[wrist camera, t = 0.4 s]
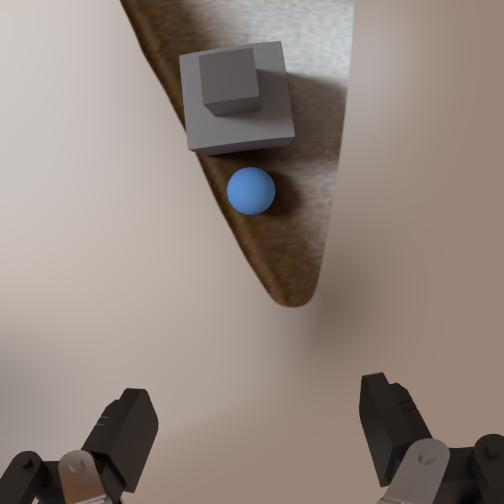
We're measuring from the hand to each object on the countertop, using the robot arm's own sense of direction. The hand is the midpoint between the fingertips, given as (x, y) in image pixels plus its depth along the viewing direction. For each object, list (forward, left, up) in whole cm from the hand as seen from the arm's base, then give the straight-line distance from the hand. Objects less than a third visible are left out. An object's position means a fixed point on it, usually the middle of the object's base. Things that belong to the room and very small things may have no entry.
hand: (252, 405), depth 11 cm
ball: (-7, -1, -25) cm, 26 cm away
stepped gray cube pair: (-16, -1, -27) cm, 31 cm away
